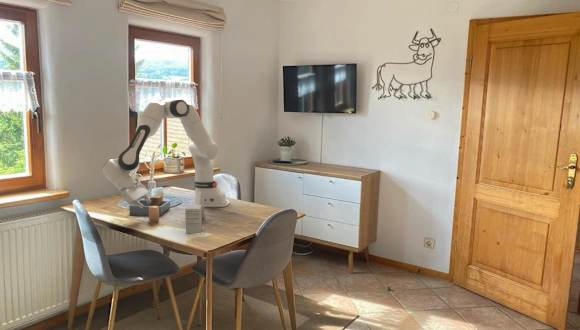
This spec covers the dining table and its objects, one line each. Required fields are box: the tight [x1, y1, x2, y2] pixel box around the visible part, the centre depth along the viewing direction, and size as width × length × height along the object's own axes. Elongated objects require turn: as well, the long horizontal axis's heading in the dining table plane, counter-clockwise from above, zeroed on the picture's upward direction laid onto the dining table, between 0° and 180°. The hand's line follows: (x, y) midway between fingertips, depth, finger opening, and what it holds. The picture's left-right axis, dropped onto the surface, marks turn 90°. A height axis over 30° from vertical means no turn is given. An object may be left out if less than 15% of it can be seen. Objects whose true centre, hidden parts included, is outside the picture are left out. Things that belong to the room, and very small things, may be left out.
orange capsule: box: [148, 206, 160, 224], centre depth 232 cm, size 5×5×8 cm
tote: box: [129, 199, 171, 217], centre depth 251 cm, size 18×14×5 cm
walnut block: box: [149, 195, 163, 207], centre depth 250 cm, size 5×5×8 cm
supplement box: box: [184, 204, 203, 234], centre depth 218 cm, size 7×7×13 cm
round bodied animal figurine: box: [195, 204, 206, 220], centre depth 237 cm, size 7×12×8 cm, turn 138°
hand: (146, 205), depth 232 cm, fingers open, 8 cm apart
